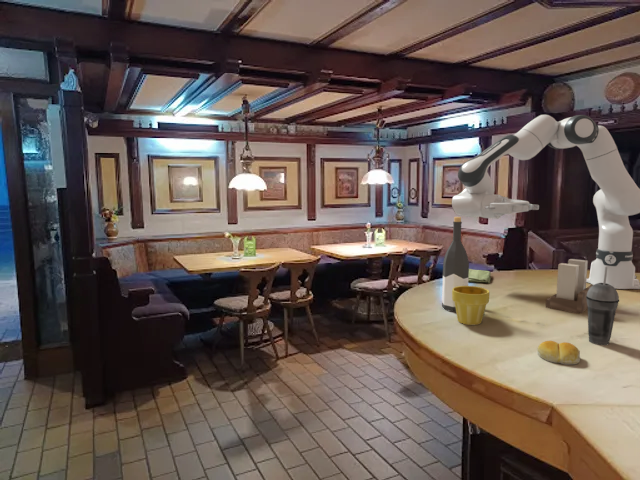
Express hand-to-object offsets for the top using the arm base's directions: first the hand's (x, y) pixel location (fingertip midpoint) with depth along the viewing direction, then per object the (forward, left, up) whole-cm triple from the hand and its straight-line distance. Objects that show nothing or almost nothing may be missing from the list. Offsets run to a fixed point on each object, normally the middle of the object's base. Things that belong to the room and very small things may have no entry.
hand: (533, 208), depth 156 cm
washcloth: (-17, -28, -33) cm, 46 cm away
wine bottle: (+30, -13, -32) cm, 46 cm away
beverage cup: (+33, +29, -32) cm, 55 cm away
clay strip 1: (+11, +15, -30) cm, 36 cm away
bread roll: (+51, +25, -32) cm, 65 cm away
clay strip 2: (+1, +15, -30) cm, 34 cm away
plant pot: (+40, -3, -32) cm, 51 cm away
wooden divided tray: (+6, +15, -32) cm, 36 cm away
